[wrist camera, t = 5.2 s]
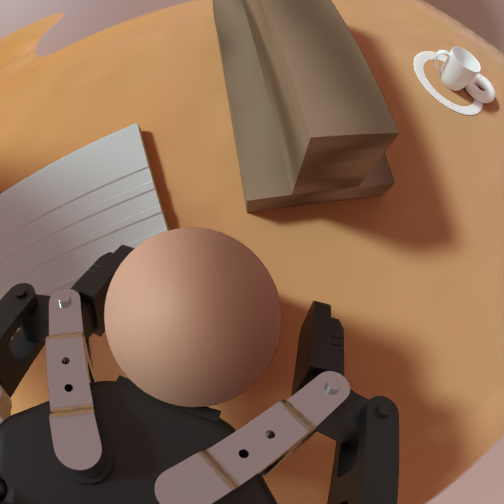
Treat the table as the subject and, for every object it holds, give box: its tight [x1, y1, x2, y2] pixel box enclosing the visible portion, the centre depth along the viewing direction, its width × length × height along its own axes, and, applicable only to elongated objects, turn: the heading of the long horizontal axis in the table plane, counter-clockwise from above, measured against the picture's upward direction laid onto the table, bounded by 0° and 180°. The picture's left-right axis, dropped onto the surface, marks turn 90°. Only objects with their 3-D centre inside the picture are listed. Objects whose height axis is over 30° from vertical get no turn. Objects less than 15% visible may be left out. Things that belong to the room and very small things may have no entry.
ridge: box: [213, 0, 399, 213], centre depth 18 cm, size 9×20×8 cm, turn 9°
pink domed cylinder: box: [104, 227, 282, 407], centre depth 13 cm, size 5×5×10 cm
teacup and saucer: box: [414, 46, 495, 116], centre depth 21 cm, size 9×8×4 cm
